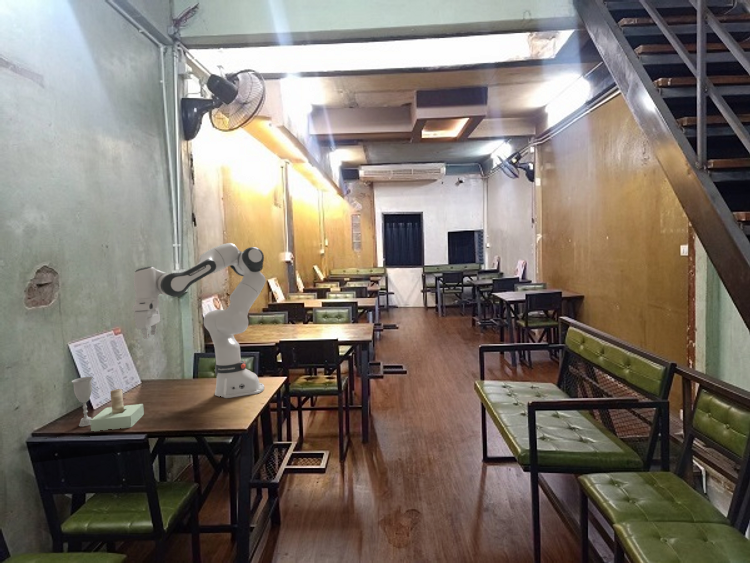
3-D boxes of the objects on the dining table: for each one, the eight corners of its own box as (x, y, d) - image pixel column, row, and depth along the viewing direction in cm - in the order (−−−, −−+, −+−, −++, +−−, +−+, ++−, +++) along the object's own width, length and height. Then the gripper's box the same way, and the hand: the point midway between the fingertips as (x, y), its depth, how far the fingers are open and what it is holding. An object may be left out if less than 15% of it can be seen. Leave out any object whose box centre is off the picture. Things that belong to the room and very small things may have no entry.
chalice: (82, 421, 174) (78, 377, 173) (100, 419, 175) (96, 376, 174) (71, 428, 167) (67, 382, 166) (90, 426, 168) (85, 381, 167)
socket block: (144, 414, 179) (143, 403, 178) (131, 427, 165) (130, 415, 165) (107, 418, 176) (106, 407, 176) (91, 431, 162) (90, 420, 162)
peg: (126, 420, 173) (123, 388, 172) (122, 423, 169) (119, 391, 168) (115, 421, 172) (112, 389, 171) (111, 425, 168) (108, 392, 167)
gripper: (147, 302, 195) (150, 332, 196) (130, 307, 175) (133, 341, 175) (162, 301, 196) (165, 331, 197) (147, 306, 176) (150, 339, 177)
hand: (150, 336), depth 186 cm, fingers open, 8 cm apart
